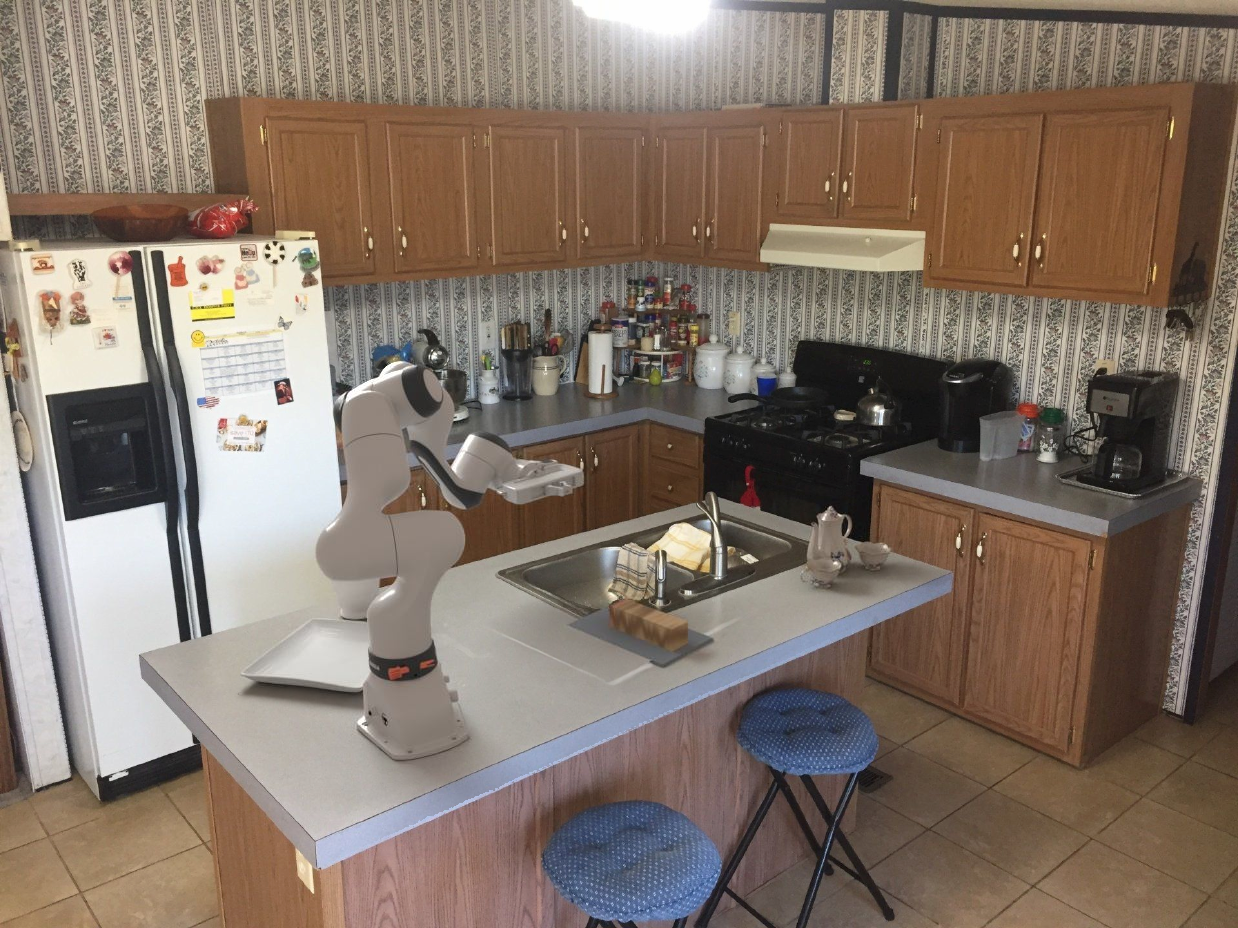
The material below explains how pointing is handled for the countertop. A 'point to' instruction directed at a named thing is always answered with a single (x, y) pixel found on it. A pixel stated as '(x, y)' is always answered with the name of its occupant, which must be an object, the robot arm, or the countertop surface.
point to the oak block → (649, 624)
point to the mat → (636, 639)
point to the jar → (355, 597)
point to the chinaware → (837, 550)
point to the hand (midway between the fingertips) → (567, 491)
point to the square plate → (317, 657)
